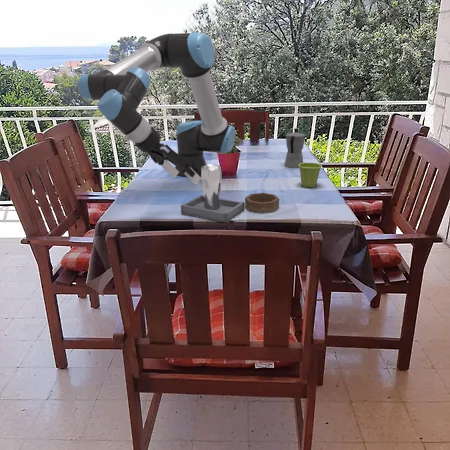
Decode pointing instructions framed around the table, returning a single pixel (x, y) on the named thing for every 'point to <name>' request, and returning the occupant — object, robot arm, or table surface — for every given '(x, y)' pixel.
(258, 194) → the ring holder
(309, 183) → the plant pot
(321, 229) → the table surface
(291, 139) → the coffeepot
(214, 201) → the beer glass
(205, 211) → the tray
